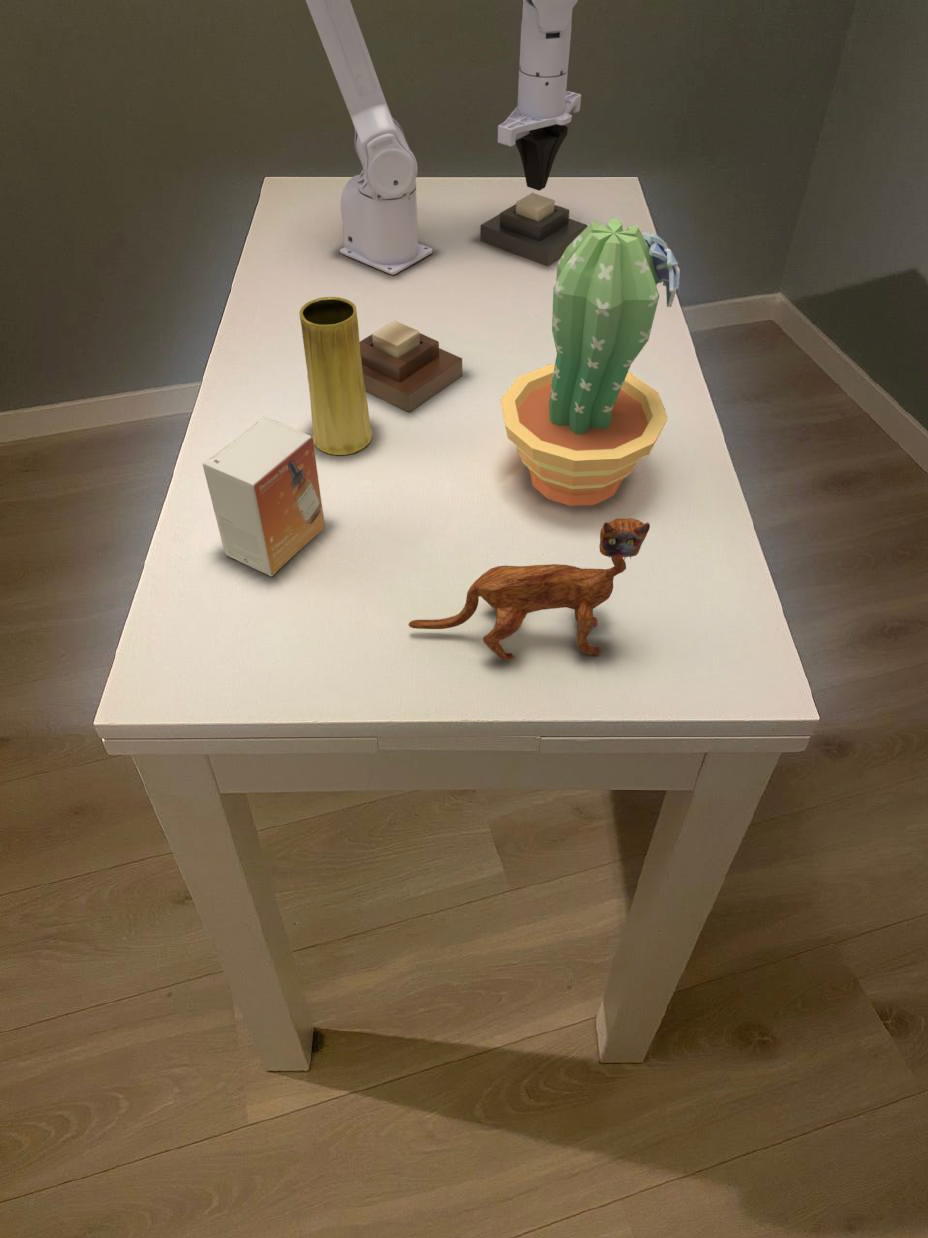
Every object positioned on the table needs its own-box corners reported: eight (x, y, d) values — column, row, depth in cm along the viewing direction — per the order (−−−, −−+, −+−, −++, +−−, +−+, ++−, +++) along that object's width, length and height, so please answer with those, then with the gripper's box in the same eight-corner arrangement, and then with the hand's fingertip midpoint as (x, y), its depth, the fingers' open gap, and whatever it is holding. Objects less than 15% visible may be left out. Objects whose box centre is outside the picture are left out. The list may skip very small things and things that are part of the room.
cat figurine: (406, 664, 76) (398, 541, 66) (411, 605, 80) (404, 481, 70) (628, 668, 76) (655, 545, 65) (620, 608, 80) (644, 484, 70)
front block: (334, 375, 103) (330, 343, 100) (388, 341, 108) (386, 309, 105) (409, 413, 99) (407, 380, 96) (462, 375, 103) (462, 343, 100)
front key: (373, 348, 100) (371, 333, 99) (395, 334, 102) (394, 319, 101) (398, 360, 99) (397, 345, 98) (420, 345, 101) (419, 331, 100)
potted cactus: (650, 538, 86) (703, 285, 67) (484, 517, 88) (491, 265, 69) (657, 437, 96) (705, 192, 77) (509, 420, 98) (521, 177, 79)
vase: (383, 428, 97) (373, 302, 86) (354, 462, 93) (340, 334, 82) (332, 414, 98) (316, 288, 88) (301, 446, 95) (281, 319, 84)
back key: (515, 215, 122) (516, 201, 120) (531, 205, 124) (532, 192, 122) (537, 223, 120) (538, 209, 119) (553, 213, 122) (555, 199, 121)
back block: (479, 240, 124) (480, 211, 121) (520, 217, 129) (521, 187, 126) (547, 266, 120) (549, 236, 117) (586, 240, 125) (589, 211, 122)
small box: (271, 579, 82) (252, 487, 74) (223, 555, 84) (199, 463, 76) (327, 527, 87) (314, 435, 79) (280, 505, 89) (263, 413, 81)
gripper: (534, 94, 104) (527, 215, 114) (606, 60, 111) (593, 176, 121) (484, 79, 107) (482, 199, 117) (557, 47, 114) (549, 162, 124)
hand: (536, 186), depth 119 cm, fingers closed
